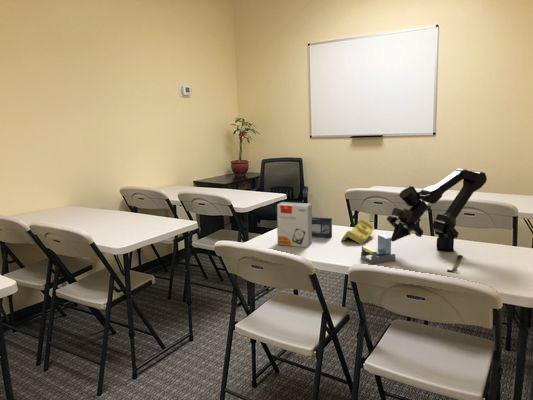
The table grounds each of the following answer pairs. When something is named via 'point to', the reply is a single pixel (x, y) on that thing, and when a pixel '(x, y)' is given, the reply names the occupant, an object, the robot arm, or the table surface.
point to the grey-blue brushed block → (384, 245)
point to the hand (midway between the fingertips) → (391, 240)
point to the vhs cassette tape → (321, 227)
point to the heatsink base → (375, 256)
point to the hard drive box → (294, 224)
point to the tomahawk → (456, 264)
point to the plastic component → (360, 232)
